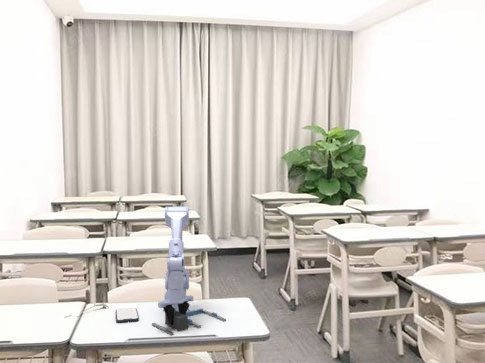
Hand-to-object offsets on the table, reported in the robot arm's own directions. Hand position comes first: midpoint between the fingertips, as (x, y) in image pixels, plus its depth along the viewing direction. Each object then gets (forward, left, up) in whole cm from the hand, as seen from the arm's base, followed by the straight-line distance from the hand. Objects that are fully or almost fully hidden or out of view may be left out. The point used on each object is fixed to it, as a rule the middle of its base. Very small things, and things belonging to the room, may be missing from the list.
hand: (176, 322), depth 190 cm
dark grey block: (0, 0, -2) cm, 2 cm away
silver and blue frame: (0, +6, -1) cm, 6 cm away
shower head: (-38, -19, -2) cm, 43 cm away
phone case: (-23, -9, -2) cm, 25 cm away
